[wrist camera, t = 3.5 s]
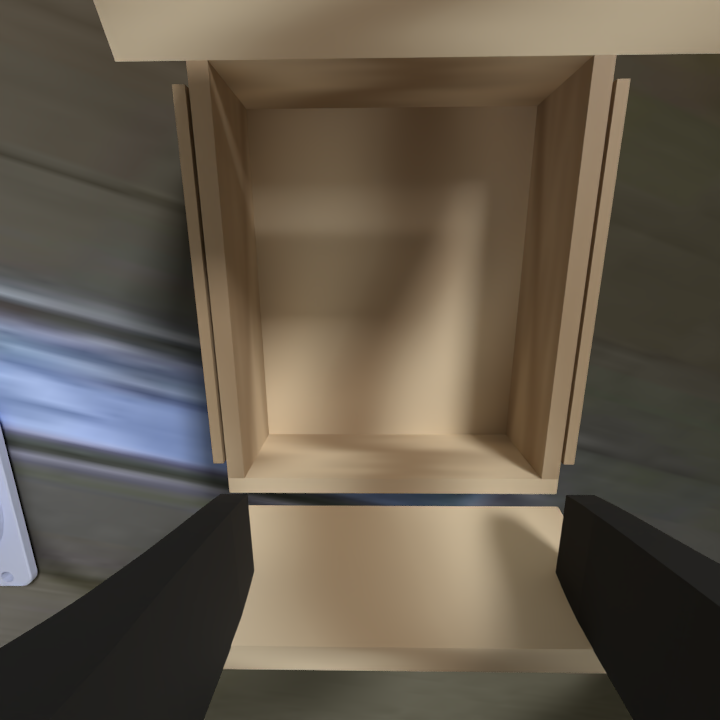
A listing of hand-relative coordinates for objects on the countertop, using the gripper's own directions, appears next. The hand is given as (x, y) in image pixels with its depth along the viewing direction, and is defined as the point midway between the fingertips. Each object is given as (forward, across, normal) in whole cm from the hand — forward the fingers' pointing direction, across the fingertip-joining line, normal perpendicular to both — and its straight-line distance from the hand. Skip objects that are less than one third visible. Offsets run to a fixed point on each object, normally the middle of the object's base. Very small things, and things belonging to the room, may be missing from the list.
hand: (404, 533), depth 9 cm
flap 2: (0, 0, +1) cm, 1 cm away
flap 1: (+1, 0, -10) cm, 10 cm away
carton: (+6, 0, -5) cm, 8 cm away
